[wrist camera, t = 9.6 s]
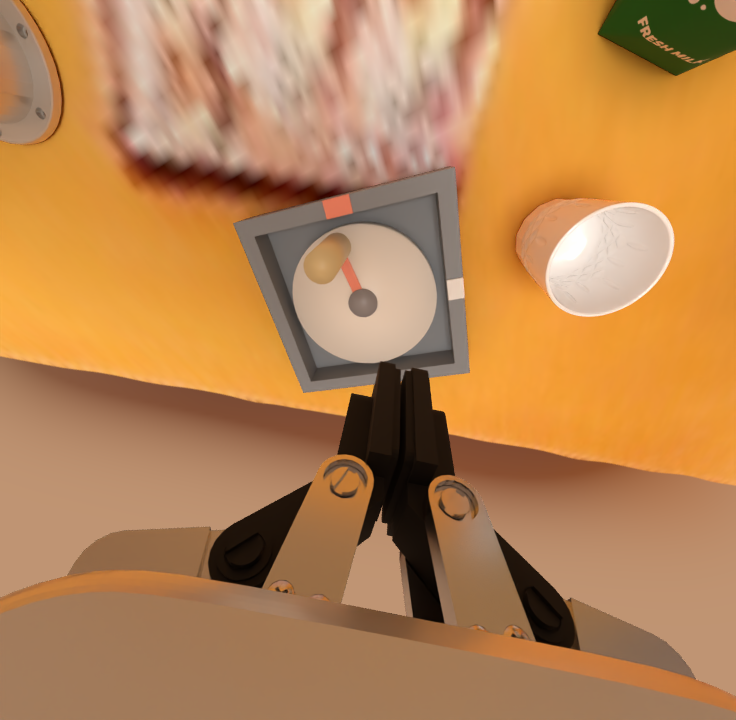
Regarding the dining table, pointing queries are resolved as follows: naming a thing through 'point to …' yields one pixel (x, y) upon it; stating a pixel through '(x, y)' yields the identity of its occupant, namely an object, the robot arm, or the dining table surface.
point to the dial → (365, 292)
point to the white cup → (595, 252)
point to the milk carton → (673, 30)
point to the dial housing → (372, 204)
